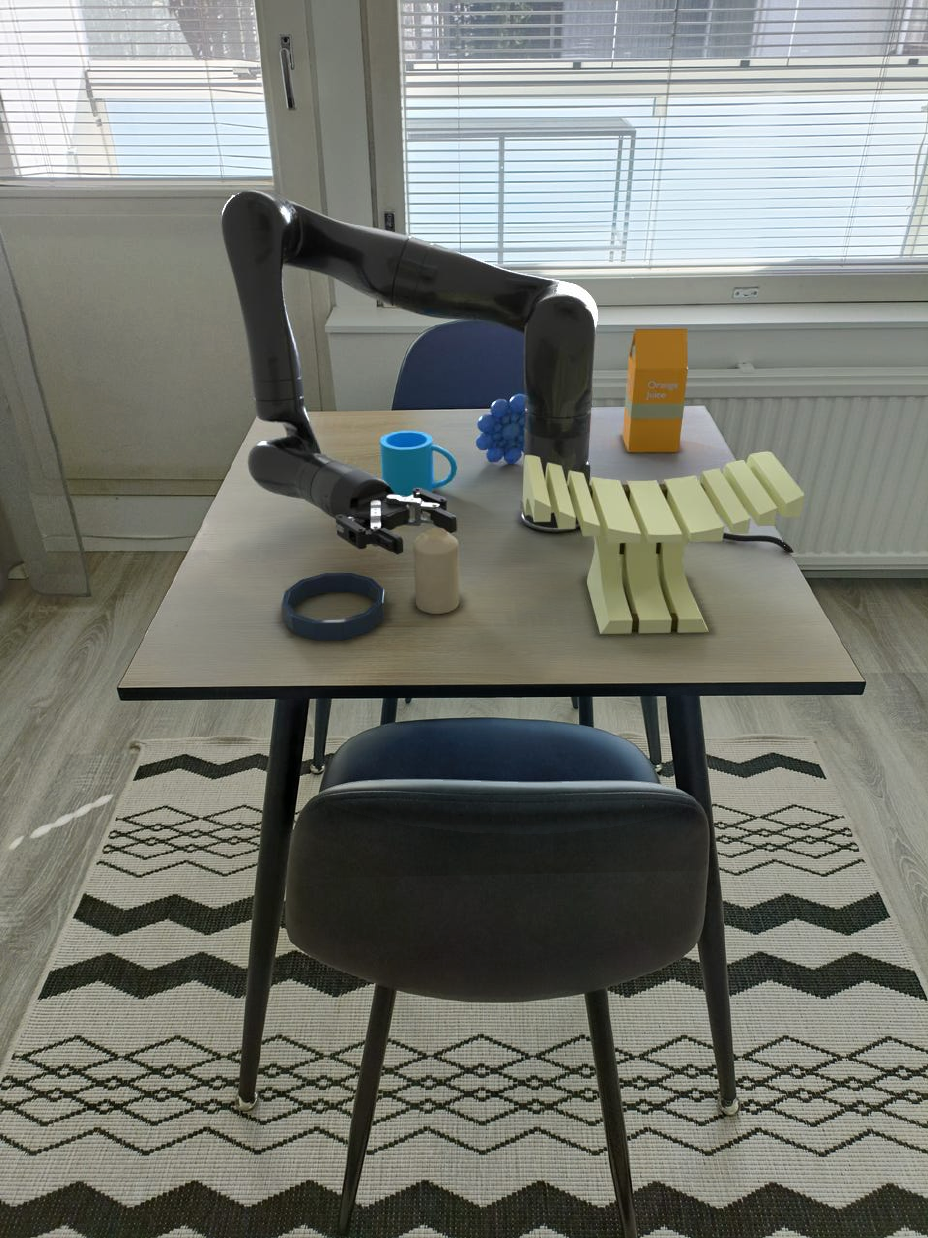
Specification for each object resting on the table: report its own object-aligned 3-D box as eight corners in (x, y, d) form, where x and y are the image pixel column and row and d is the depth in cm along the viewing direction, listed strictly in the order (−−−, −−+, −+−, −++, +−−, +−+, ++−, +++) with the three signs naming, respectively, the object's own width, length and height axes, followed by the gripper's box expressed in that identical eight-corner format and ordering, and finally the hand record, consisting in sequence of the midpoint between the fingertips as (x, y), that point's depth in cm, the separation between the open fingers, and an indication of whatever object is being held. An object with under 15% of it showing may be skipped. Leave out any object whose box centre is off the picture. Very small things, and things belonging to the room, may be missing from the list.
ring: (386, 588, 125) (385, 571, 124) (381, 639, 115) (380, 621, 114) (291, 590, 125) (289, 573, 124) (278, 641, 115) (275, 623, 113)
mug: (377, 497, 150) (374, 448, 146) (389, 477, 157) (387, 429, 153) (452, 502, 148) (451, 452, 144) (461, 481, 155) (461, 433, 151)
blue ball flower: (543, 453, 165) (545, 385, 159) (546, 468, 159) (548, 398, 153) (475, 454, 165) (475, 385, 159) (476, 469, 159) (475, 399, 153)
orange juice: (679, 452, 165) (692, 334, 155) (627, 452, 165) (637, 335, 155) (671, 435, 172) (683, 322, 161) (621, 435, 172) (630, 322, 161)
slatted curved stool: (743, 568, 129) (763, 442, 120) (778, 630, 116) (804, 494, 106) (521, 571, 129) (524, 446, 120) (530, 635, 115) (534, 498, 106)
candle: (454, 616, 119) (452, 544, 114) (411, 612, 120) (407, 540, 115) (463, 594, 124) (462, 524, 119) (421, 590, 125) (419, 521, 120)
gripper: (304, 484, 123) (380, 525, 112) (392, 456, 131) (471, 491, 120) (309, 537, 127) (384, 581, 116) (394, 506, 135) (471, 545, 124)
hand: (428, 535), depth 118 cm, fingers open, 8 cm apart
